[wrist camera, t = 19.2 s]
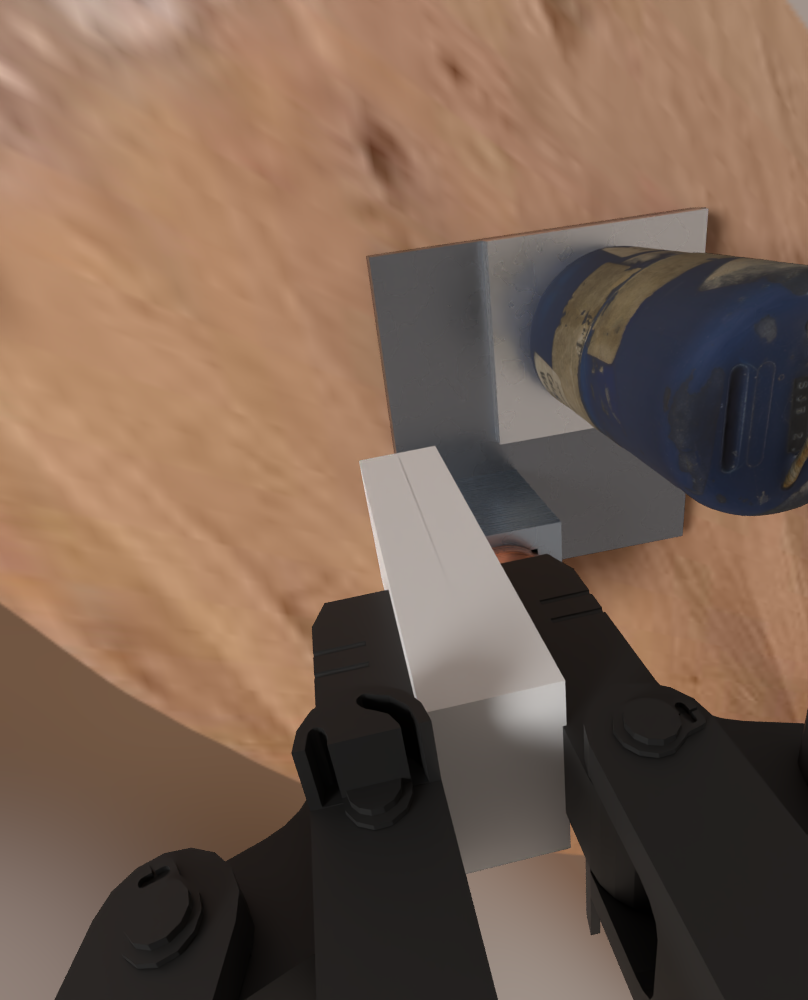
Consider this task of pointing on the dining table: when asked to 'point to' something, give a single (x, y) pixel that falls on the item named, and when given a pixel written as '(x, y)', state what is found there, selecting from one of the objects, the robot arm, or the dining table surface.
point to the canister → (687, 368)
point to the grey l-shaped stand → (516, 387)
